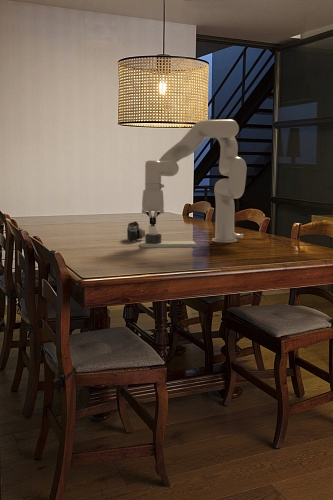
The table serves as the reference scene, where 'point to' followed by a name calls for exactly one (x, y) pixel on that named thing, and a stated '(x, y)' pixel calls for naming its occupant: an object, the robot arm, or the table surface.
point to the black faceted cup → (153, 239)
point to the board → (170, 244)
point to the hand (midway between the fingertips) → (152, 225)
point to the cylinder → (153, 230)
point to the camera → (134, 232)
